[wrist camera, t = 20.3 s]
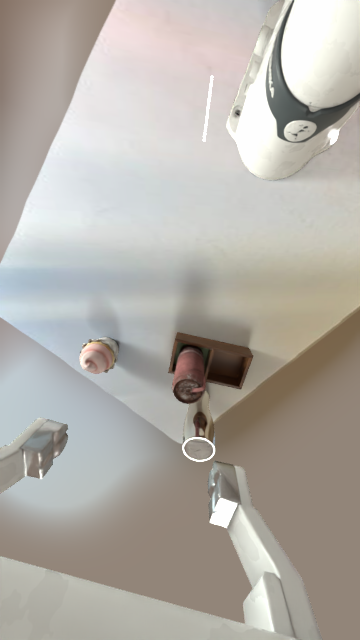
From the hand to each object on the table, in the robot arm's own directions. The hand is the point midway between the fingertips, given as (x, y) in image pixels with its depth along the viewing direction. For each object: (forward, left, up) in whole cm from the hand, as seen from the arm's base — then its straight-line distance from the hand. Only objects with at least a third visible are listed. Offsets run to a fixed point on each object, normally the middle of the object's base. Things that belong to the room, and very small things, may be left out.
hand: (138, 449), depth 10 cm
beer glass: (+25, +9, -35) cm, 44 cm away
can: (+12, +4, -34) cm, 37 cm away
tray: (+12, +8, -35) cm, 38 cm away
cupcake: (+16, -18, -35) cm, 43 cm away
